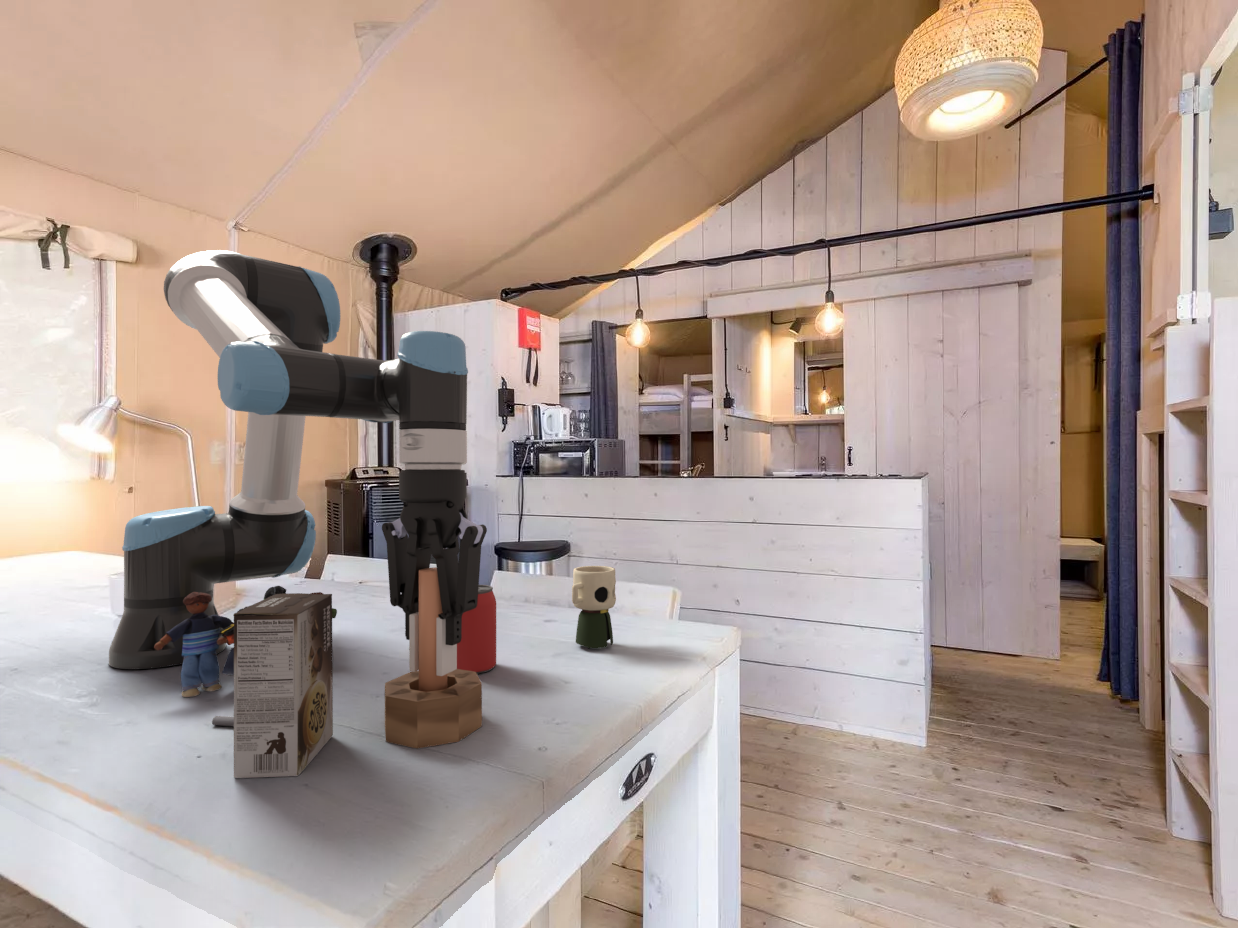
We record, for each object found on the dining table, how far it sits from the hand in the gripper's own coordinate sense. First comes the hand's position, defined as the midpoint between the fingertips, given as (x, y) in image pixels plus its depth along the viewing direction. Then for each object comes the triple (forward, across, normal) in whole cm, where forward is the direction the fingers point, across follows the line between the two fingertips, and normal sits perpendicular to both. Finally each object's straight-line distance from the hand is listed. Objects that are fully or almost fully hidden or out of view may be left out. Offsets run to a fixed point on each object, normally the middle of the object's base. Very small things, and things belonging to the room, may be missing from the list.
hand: (433, 669), depth 71 cm
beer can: (+7, -8, +19) cm, 22 cm away
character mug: (+7, +4, +36) cm, 37 cm away
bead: (+7, 0, 0) cm, 7 cm away
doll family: (+7, -35, +4) cm, 36 cm away
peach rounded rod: (+4, 0, 0) cm, 4 cm away
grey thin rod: (+7, -19, -8) cm, 22 cm away
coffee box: (+7, -9, -12) cm, 16 cm away
